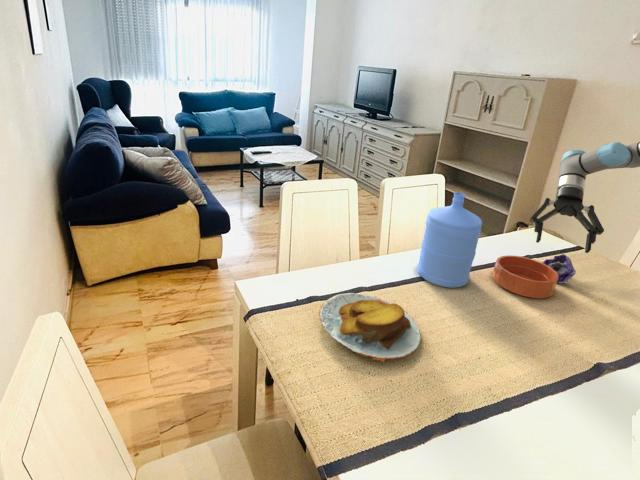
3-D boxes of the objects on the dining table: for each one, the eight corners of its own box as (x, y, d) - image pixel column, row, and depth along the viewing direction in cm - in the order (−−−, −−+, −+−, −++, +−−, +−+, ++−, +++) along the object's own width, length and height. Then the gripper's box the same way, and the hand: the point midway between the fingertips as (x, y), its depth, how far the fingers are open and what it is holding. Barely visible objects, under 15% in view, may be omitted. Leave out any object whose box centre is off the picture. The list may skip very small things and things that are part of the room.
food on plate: (338, 291, 114) (340, 271, 111) (426, 318, 103) (430, 297, 101) (302, 341, 93) (304, 318, 90) (408, 382, 82) (413, 357, 80)
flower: (553, 249, 131) (558, 247, 122) (578, 267, 127) (584, 266, 119) (533, 269, 133) (536, 268, 124) (556, 287, 129) (561, 288, 120)
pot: (555, 283, 123) (560, 267, 121) (549, 306, 111) (555, 288, 109) (497, 266, 132) (502, 250, 130) (486, 285, 120) (491, 268, 118)
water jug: (464, 294, 115) (486, 207, 105) (411, 278, 122) (426, 195, 112) (471, 273, 127) (491, 193, 117) (422, 259, 135) (437, 183, 125)
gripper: (610, 203, 131) (605, 260, 124) (526, 189, 142) (516, 241, 135) (620, 192, 125) (614, 251, 118) (531, 179, 136) (521, 232, 129)
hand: (562, 246), depth 126 cm, fingers open, 13 cm apart
